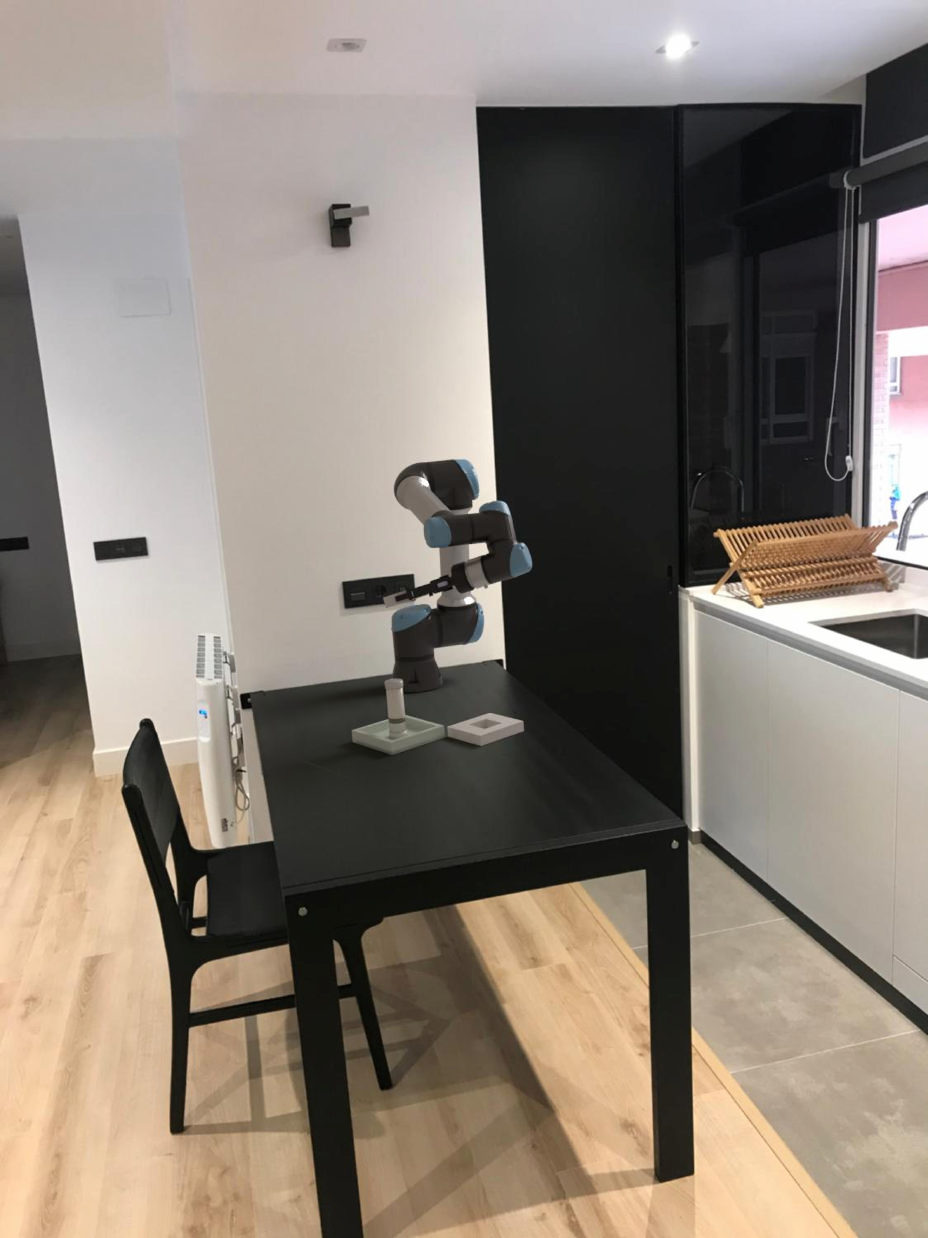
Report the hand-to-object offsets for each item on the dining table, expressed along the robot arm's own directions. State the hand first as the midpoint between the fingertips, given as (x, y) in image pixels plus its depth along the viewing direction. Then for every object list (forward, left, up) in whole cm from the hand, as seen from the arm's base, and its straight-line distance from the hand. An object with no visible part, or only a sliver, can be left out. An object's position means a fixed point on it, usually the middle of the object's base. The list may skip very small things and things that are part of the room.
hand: (394, 600), depth 256 cm
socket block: (-4, +27, -31) cm, 42 cm away
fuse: (+12, +13, -31) cm, 36 cm away
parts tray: (+12, +13, -31) cm, 36 cm away
